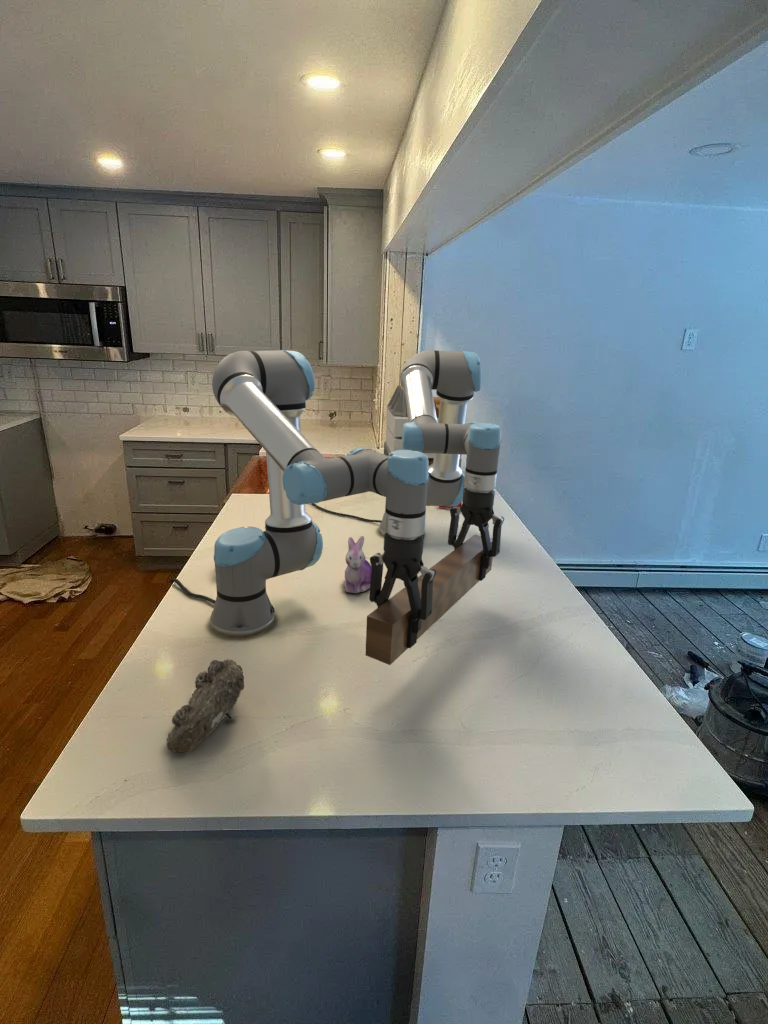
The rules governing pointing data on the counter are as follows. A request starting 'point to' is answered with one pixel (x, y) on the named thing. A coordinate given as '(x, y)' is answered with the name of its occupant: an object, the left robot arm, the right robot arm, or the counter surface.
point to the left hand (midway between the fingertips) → (397, 639)
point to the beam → (448, 588)
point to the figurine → (357, 568)
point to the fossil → (206, 705)
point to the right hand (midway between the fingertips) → (470, 575)
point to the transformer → (402, 422)
